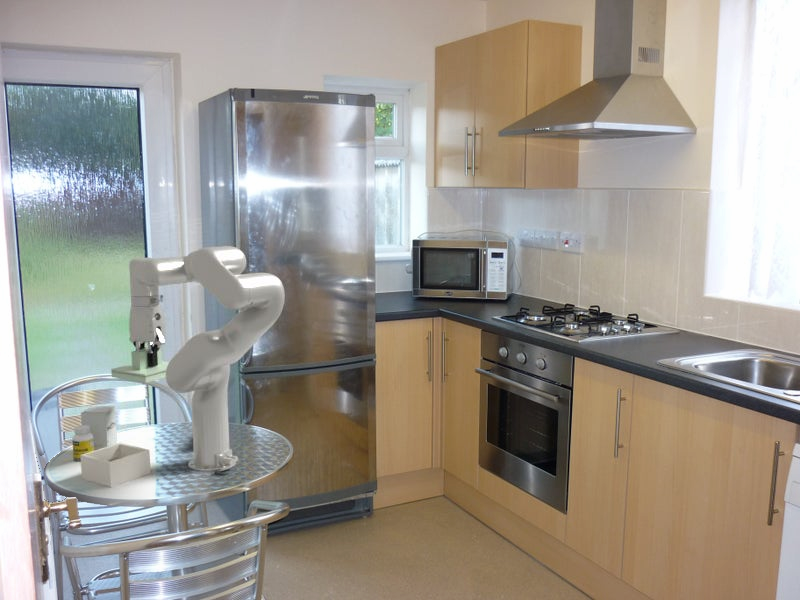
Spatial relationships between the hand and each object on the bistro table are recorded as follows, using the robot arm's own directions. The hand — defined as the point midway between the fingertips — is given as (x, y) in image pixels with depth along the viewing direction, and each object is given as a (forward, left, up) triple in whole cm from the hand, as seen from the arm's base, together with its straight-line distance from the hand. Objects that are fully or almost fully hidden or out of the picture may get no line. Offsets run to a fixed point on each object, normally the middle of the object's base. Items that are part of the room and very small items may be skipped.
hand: (148, 364), depth 216 cm
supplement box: (+14, +8, -26) cm, 30 cm away
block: (-10, +20, -25) cm, 33 cm away
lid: (0, 0, -3) cm, 3 cm away
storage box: (-10, +20, -25) cm, 34 cm away
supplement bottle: (+10, +16, -26) cm, 32 cm away
